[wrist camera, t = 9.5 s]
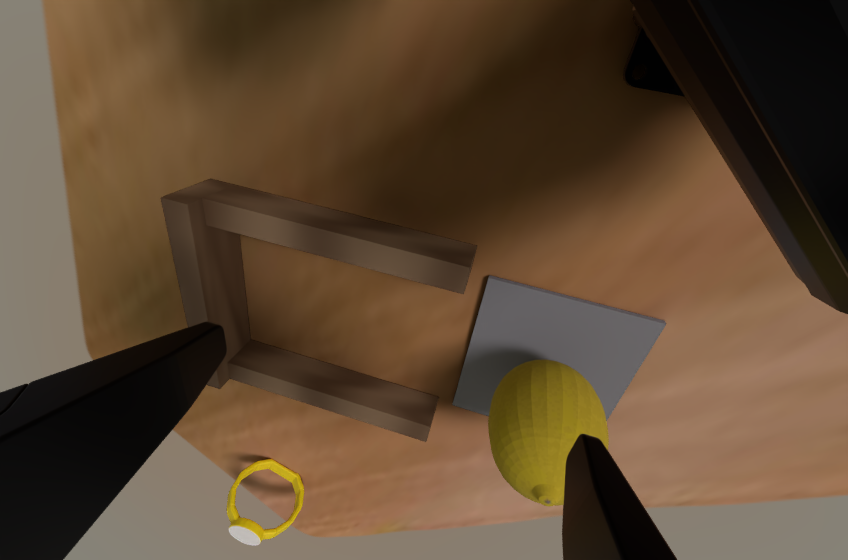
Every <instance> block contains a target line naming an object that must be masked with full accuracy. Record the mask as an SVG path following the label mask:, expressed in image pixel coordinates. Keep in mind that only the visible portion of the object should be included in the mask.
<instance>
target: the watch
mask: <svg viewBox="0 0 848 560" xmlns="http://www.w3.org/2000/svg"><path fill="white" fill-rule="evenodd" d="M263 469H270V470H272V471H273V472H275V473H277V474H278V475H280V476H282V477H283V478H285V479H287V480H288V481H290V482H292V485H293V488H294V491H295V494H296V499H295V506H294V511H293V513H292V514H291V516H290V518H289V519H288V521H286V522H284V523H283V524H282V525H280V526H278V527H277V528H274V529H265V530H263V528H262V527H261V526H260V525H259V524H257V523H255V522H254V521H252V520H250V519H246V518H241V517H240V516H239V514H238V511H237V509H236V506H235V497H236V488H237V487H238V485H239V483H240V482H241V480H242V479H244V478H245V477H247V476H248V475H250V474H251V473H252V472H254V471H258V470H263ZM303 497H304V487H303V484H302V480H301V477H300V475H298V473H295V472H294V471H292V470H290V469H288V468H286V467H285V466H283V465H281V464H280V463H278V462H276V461H275V460H273V459H266V460H260V461H257V462H254V463H253V464H251V465H250V466H248V467H247V468H246V469H244V470H243V471H242V472H241V473H240V474H239V476H238V478H237V479H236V481H235V483H234V484H233V486H232V488H231V490H230V491H229V494H228V501H227V515H228V517H229V519H230V522H231V525H230V526H229V532H230V534H231V535H232V536H233V537H234V538H235V539H237V540H238V541H240V542H243V543H245V544H248V545H253V546H255V545H259V544H260V543H261V541H262V540H263V539H271V538H272V537H273V538H274V537H275V536H277V535H278V534H280V533H281V532H283V531H284V530H286V529H287V528H288V527H289V526H290V525H291V524H292V522H293V521H294V519H295V518H296V516H297V515H298V513H299V511H300V510H301V507H302V505H303Z"/></svg>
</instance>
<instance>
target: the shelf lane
mask: <svg viewBox="0 0 848 560" xmlns="http://www.w3.org/2000/svg"><path fill="white" fill-rule="evenodd" d="M161 202H162V207H163V211H164V216H165V221H166V225H167V230H168V235H169V240H170V244H171V249H172V254H173V258H174V263H175V268H176V273H177V277H178V282H179V287H180V292H181V296H182V301H183V306H184V310H185V315H186V320H187V325H188V327H191V326H194V325H197V324H199V323H202V322H212V323H216V324H219V325H221V326H222V327H223V328H224V332H225V338H226V345H227V353H226V356H225V358H224V360H223V361H222V363H221V364H220V366H219V367H218V368H217V370H216V371H215V373H214V374H213V376H212V377H211V379H210V380H209V382H208V383H207V384H206V385H209V386H212V387H215V388H218V389H220V388H221V387H222V386H223V385H224V384H225V383H226V382H227V381H228V380H229V379H233V380H236V381H239V382H242V383H245V384H248V385H251V386H254V387H257V388H261V389H264V390H267V391H270V392H273V393H276V394H279V395H282V396H285V397H288V398H291V399H295V400H298V401H301V402H304V403H307V404H310V405H313V406H316V407H319V408H322V409H325V410H329V411H332V412H335V413H338V414H341V415H344V416H347V417H350V418H353V419H356V420H359V421H363V422H366V423H369V424H372V425H375V426H378V427H381V428H384V429H387V430H390V431H393V432H397V433H400V434H403V435H406V436H409V437H412V438H415V439H418V440H421V441H424V442H426V441H427V438H428V434H429V431H430V427H431V424H432V420H433V417H434V413H435V410H436V406H437V402H438V398H439V397H436V396H433V395H430V394H427V393H423V392H420V391H417V390H414V389H410V388H407V387H404V386H400V385H397V384H394V383H391V382H387V381H384V380H381V379H378V378H374V377H371V376H368V375H365V374H361V373H358V372H355V371H352V370H348V369H345V368H342V367H338V366H335V365H332V364H329V363H325V362H322V361H319V360H316V359H312V358H309V357H306V356H303V355H299V354H296V353H293V352H290V351H286V350H283V349H280V348H277V347H273V346H270V345H267V344H263V343H260V342H257V341H254V340H251V339H250V329H249V320H248V310H247V301H246V291H245V282H244V272H243V263H242V253H241V244H240V234H241V235H245V236H248V237H252V238H256V239H260V240H263V241H267V242H271V243H274V244H278V245H282V246H286V247H289V248H293V249H297V250H301V251H304V252H308V253H312V254H315V255H319V256H323V257H327V258H330V259H334V260H338V261H341V262H345V263H349V264H353V265H356V266H360V267H364V268H367V269H371V270H375V271H379V272H382V273H386V274H390V275H393V276H397V277H401V278H405V279H408V280H412V281H416V282H419V283H423V284H427V285H431V286H434V287H438V288H442V289H446V290H449V291H453V292H457V293H460V294H464V291H465V288H466V285H467V282H468V278H469V275H470V272H471V268H472V264H473V260H474V256H475V253H476V249H477V245H473V244H469V243H465V242H461V241H457V240H453V239H449V238H445V237H441V236H437V235H433V234H429V233H425V232H421V231H417V230H413V229H409V228H405V227H401V226H397V225H393V224H389V223H385V222H381V221H377V220H373V219H369V218H365V217H361V216H357V215H353V214H349V213H345V212H341V211H337V210H333V209H329V208H325V207H321V206H317V205H313V204H309V203H305V202H301V201H297V200H293V199H289V198H286V197H282V196H278V195H274V194H270V193H266V192H262V191H258V190H254V189H250V188H246V187H242V186H238V185H234V184H230V183H226V182H222V181H218V180H214V179H208V180H206V181H203V182H200V183H198V184H195V185H193V186H190V187H187V188H185V189H182V190H179V191H177V192H174V193H171V194H169V195H166V196H163V197H161Z"/></svg>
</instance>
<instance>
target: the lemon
mask: <svg viewBox="0 0 848 560" xmlns="http://www.w3.org/2000/svg"><path fill="white" fill-rule="evenodd" d="M488 428H489V437H490V444H491V450H492V454H493V458H494V460H495V463H496V465H497V467H498V469H499V471H500V472H501V474H502V476H503V477H504V479H505V480H506V481H507V482H508V483H509V484H510V485H511V486H512V487H513V488H514V489H515V490H516V491H517V492H519V493H520V494H521V495H523V496H524V497H526V498H528V499H530V500H532V501H534V502H537V503H541V504H543V505H545V506H553V505H564V486H565V468H566V460H567V456H568V454H569V452H570V450H571V448H572V447H573V445H574V443H575V441H576V440H577V438H578V436H579V435H580V434H587V435H590V436H593V437H597V438H599V439H600V440H601V441H602V442H603V444H604V445H605V447H606V448H607V450H608V428H607V422H606V416H605V412H604V409H603V406H602V403H601V401H600V399H599V397H598V396H597V394H596V392H595V390H594V389H593V387H592V385H591V384H590V383H589V382H588V381H587V380H586V379H585V378H584V377H583V376H582V375H581V374H580V373H579V372H578V371H576V370H574V369H573V368H571V367H569V366H568V365H565V364H563V363H560V362H557V361H552V360H546V359H545V360H533V361H528V362H525V363H523V364H521V365H518V366H516V367H515V368H513V369H512V370H511V371H510V372H509V373H507V374H506V375H505V376H504V377H503V379H502V380H501V382H500V383H499V385H498V387H497V388H496V390H495V392H494V395H493V398H492V402H491V407H490V412H489V420H488Z"/></svg>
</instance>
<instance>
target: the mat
mask: <svg viewBox="0 0 848 560" xmlns="http://www.w3.org/2000/svg"><path fill="white" fill-rule="evenodd" d="M665 325H666V323H665V321H664V320H660V319H656V318H652V317H648V316H644V315H641V314H637V313H633V312H629V311H625V310H621V309H617V308H614V307H610V306H606V305H602V304H598V303H594V302H591V301H587V300H583V299H579V298H575V297H571V296H567V295H564V294H560V293H556V292H552V291H548V290H544V289H541V288H537V287H533V286H529V285H525V284H521V283H518V282H514V281H510V280H506V279H502V278H498V277H494V276H491V275H489V278H488V281H487V285H486V288H485V292H484V295H483V299H482V302H481V306H480V309H479V313H478V316H477V320H476V323H475V327H474V330H473V334H472V337H471V341H470V344H469V348H468V351H467V355H466V358H465V362H464V365H463V369H462V372H461V376H460V379H459V383H458V386H457V390H456V393H455V397H454V400H453V404H452V405H454V406H457V407H460V408H464V409H467V410H470V411H473V412H477V413H480V414H483V415H486V416H489V412H490V407H491V402H492V398H493V395H494V392H495V390H496V388H497V387H498V385H499V383H500V382H501V380H502V379H503V377H504V376H505V375H506V374H507V373H509V372H510V371H511V370H512V369H513V368H515V367H516V366H518V365H521V364H523V363H525V362H528V361H533V360H545V359H546V360H552V361H557V362H560V363H563V364H565V365H568V366H569V367H571V368H573V369H574V370H576V371H578V372H579V373H580V374H581V375H582V376H583V377H584V378H585V379H586V380H587V381H588V382H589V383H590V384H591V385H592V387H593V389H594V390H595V392H596V394H597V396H598V397H599V399H600V401H601V403H602V406H603V409H604V412H605V416H606V421H607V420H608V418H609V416H610V415H611V413H612V411H613V410H614V408H615V407H616V405H617V403H618V402H619V400H620V398H621V397H622V395H623V394H624V392H625V390H626V389H627V387H628V385H629V384H630V382H631V381H632V379H633V377H634V376H635V374H636V372H637V371H638V369H639V368H640V366H641V364H642V363H643V361H644V359H645V358H646V356H647V355H648V353H649V351H650V350H651V348H652V346H653V345H654V343H655V342H656V340H657V338H658V337H659V335H660V333H661V332H662V330H663V329H664V327H665Z"/></svg>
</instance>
